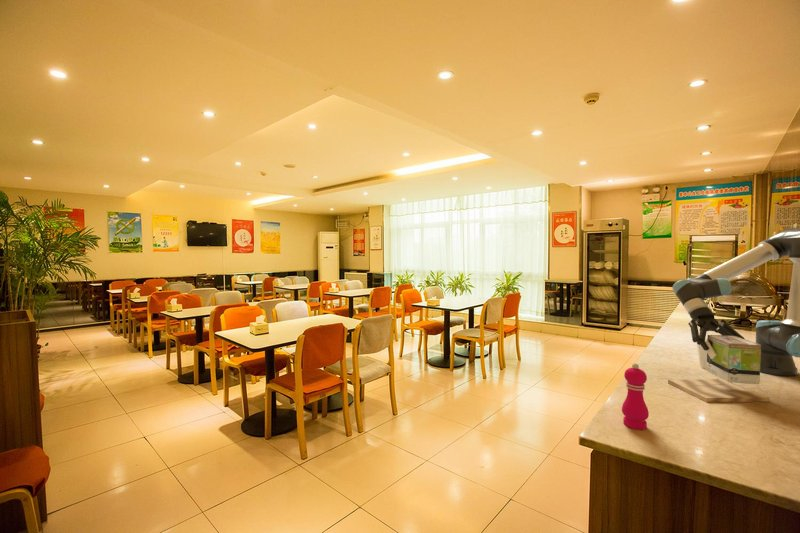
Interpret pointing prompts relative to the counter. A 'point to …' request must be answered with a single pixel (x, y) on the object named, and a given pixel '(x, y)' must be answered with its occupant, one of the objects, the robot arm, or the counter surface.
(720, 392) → the oak board
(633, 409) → the pepper mill
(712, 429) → the counter surface
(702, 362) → the foam cup
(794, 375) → the robot arm
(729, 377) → the tea box
